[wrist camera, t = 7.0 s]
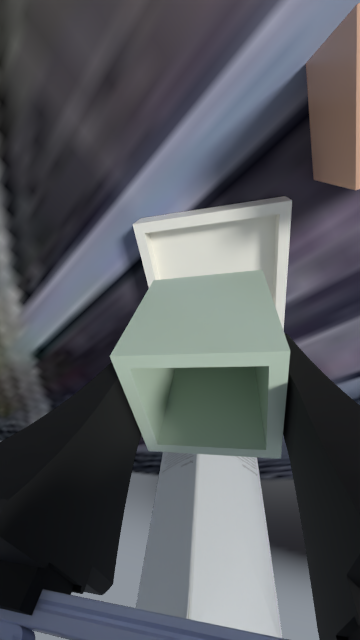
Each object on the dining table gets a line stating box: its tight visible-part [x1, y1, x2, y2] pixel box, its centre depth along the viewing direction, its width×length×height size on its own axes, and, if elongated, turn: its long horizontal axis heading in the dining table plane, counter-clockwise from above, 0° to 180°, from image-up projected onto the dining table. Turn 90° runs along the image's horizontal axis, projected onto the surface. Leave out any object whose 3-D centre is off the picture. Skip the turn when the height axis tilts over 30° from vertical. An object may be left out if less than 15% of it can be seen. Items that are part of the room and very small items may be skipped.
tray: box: [133, 196, 292, 330], centre depth 17 cm, size 9×9×2 cm
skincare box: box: [136, 452, 282, 638], centre depth 22 cm, size 8×7×16 cm
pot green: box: [110, 270, 290, 459], centre depth 10 cm, size 5×5×6 cm
